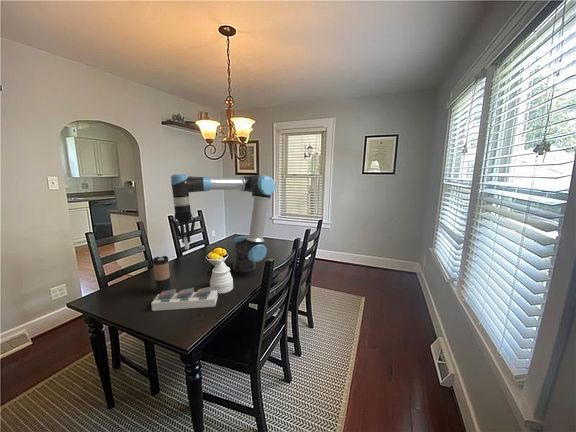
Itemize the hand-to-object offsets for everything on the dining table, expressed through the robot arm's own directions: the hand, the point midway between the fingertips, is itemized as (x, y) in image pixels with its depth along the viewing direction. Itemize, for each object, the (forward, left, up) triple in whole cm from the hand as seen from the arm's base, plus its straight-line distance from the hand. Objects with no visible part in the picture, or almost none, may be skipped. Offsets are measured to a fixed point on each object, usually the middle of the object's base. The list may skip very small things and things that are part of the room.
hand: (187, 248), depth 132 cm
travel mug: (+16, -5, -27) cm, 32 cm away
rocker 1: (+9, +9, -22) cm, 25 cm away
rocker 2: (-9, +9, -22) cm, 25 cm away
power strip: (0, +10, -27) cm, 28 cm away
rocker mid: (0, +9, -22) cm, 23 cm away
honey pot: (-16, -5, -27) cm, 32 cm away
